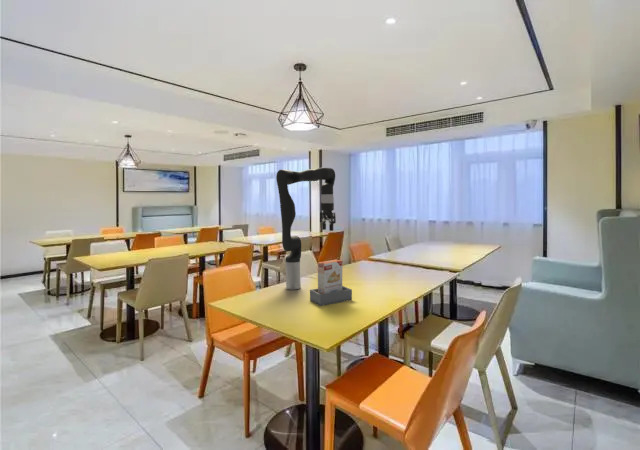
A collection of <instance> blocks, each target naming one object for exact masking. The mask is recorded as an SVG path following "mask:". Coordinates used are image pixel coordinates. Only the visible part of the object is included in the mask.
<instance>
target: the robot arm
mask: <svg viewBox="0 0 640 450" xmlns="http://www.w3.org/2000/svg"><path fill="white" fill-rule="evenodd" d="M275 177H276V178H275V179H276V185H277V188H278V196H279V205H280V217H281V218H280V219H281V229H282V230H281V232H282V233H281V235H282V236H281V239H282V240H281V241H282V248H283V251H285V252H290V253H289V254H288V255H287V256H285V286H286V287H285V288H286V289H287V290H291V291H292V290H299V289H301V288H302V287H301V283H302V282H301V280H302V279H301V257H302V240H301V238H300V237H299V236H298V235H292V233H291V232H292V226H293V223H294V220H295V219H296V216H297V215H296V205H295V202H294V200H293V197H292V196H291V194H290V192H289V188H288V187H289V186H288V185H292V184H293V185H294V184H296V183H299V182H317V181H324V184H322V185H321V187H320V210H321V211H320V212H319V222H320V223H321V229H322V230H323V231H324V230H327V222H328V223H329V232H331V231H334V224H336V223H337V222H336V221H337V220H336V212H333V211H335V197H334V185H335V180H336V172H335V170H334V169H333V168H331V167H319V168H310V169H304V170H302V171H296V170H295V171H294V170H289V169H283V168H282V169H279V170H278V171H277V172H276V176H275Z"/></svg>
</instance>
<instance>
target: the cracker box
mask: <svg viewBox="0 0 640 450" xmlns="http://www.w3.org/2000/svg"><path fill="white" fill-rule="evenodd" d="M342 286H343V260H340V259H331V260H324V261H318V262H317V289H318V293H320V294H325V293H331V292H337V291H342Z"/></svg>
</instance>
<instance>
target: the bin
mask: <svg viewBox="0 0 640 450" xmlns="http://www.w3.org/2000/svg"><path fill="white" fill-rule="evenodd" d="M352 300H353V290H352V289H351V288H350V287H346V286H345V285H342V291H337V292H331V293H325V294H320V293H318V288H312V289H309V301H310V302H312V303H314V304H315V305H318V306H320V307H324V306H327V305H333V304H338V303H344V302H348V301H349V302H350V301H352Z"/></svg>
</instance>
